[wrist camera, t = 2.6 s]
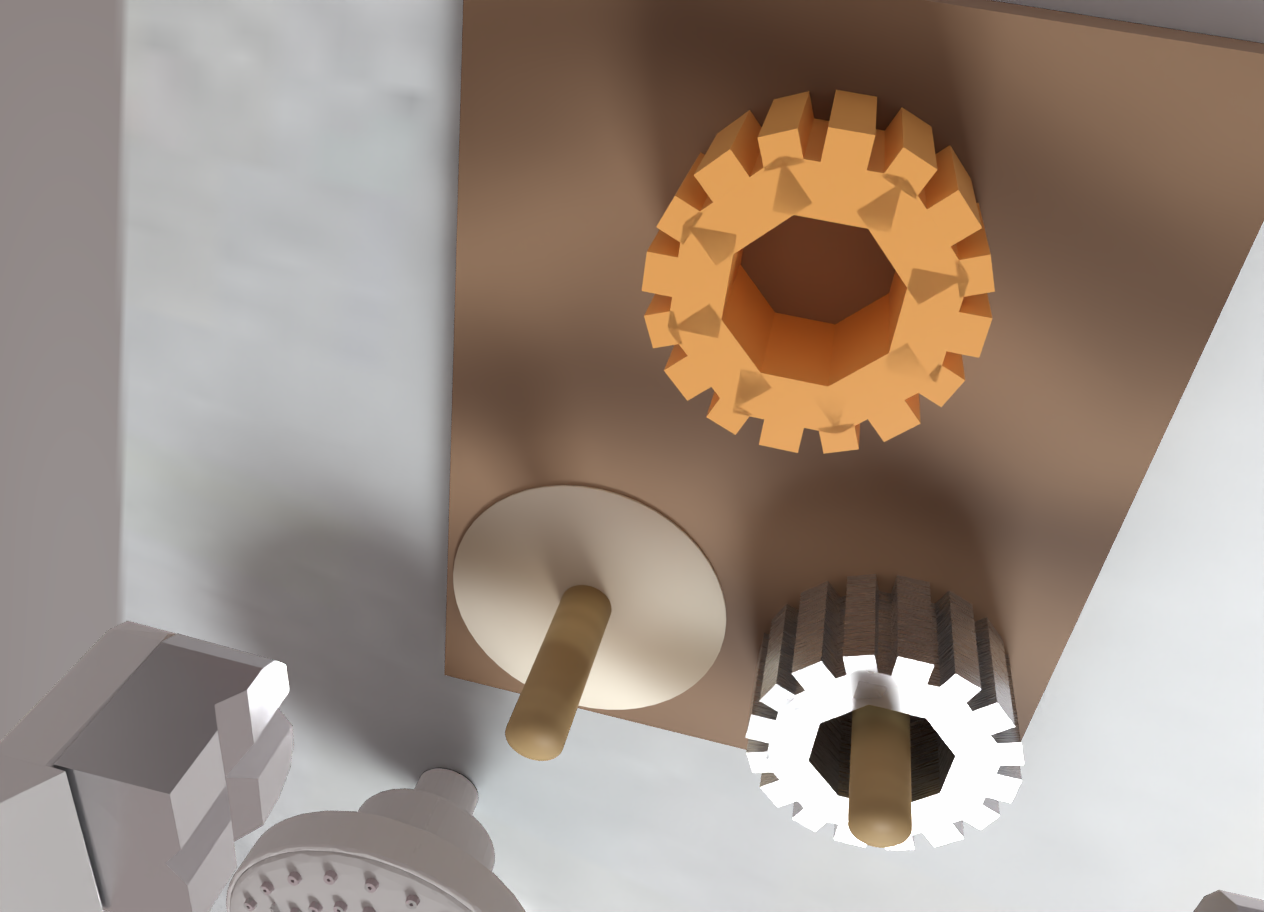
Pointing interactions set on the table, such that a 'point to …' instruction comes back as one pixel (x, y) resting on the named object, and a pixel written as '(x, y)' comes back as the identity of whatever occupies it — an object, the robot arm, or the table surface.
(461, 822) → the showerhead
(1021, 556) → the gear board
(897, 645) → the gear
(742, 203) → the gear
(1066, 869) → the table surface
